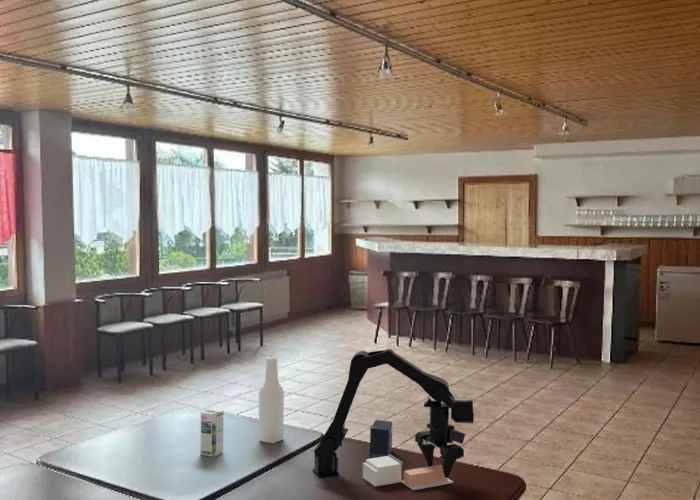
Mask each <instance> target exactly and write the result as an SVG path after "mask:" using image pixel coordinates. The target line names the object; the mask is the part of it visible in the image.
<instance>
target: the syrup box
mask: <svg viewBox="0 0 700 500" xmlns="http://www.w3.org/2000/svg"><path fill="white" fill-rule="evenodd" d="M224 418H225V417H224V410H218V409H213V408H209V409H205V410H203V411H202V412H201V413H200V453H199V455H200V456H206V457H207V456H208V457H212V458H215V457H217V456H219V455H220V454H223V453H224Z"/></svg>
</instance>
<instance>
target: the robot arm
mask: <svg viewBox="0 0 700 500" xmlns="http://www.w3.org/2000/svg"><path fill="white" fill-rule="evenodd" d="M349 364H350V365H349V372H348V379H347V382H346V385H345V388H344V390H343V393H342V396H341V398H340V401H339V404H338V406H337V409H336V412H335V414H334V417H333V420H332V421H331V423H330V425H329V426H328V429H327V430H326V431H325V433H324V434H323V437H322V438H321V440H319V442H318V444H317V445H316V447H315V449H314V450H313V452H314V468H312V472H313V473H314V474H315V475H316V476H317V477H319V478H325V477H330V476H331V477H332V476H338V475H340V474H339V471H338V470H339V457H338V456H337V455H338V453H337V452H336V451H337V450H339V448H340V447H343V444H344V442H345V440H346V439H345V437H346V435H347V433H348V431H349V428H346V421H347V418H348V416H349V413H350V410H351V407H352V405H353V403H354V399H355V397H356V394H357V392H358V389H359V387H360V383H361V382H362V379H363V378H364V377H365V375H366V374H367V371H368V370H369V369H372V368H377V367H379V366H382V365H388V366H390V367H391V368H393V369H395V370H396V371H397V372H399V373H401V374H402V375H404V376H405V377H407V378H409V380H411V381H413V382H414V383H416V384H417V385H418V386H420V387H421V388H422V389H423V391H424V392H425V393H426V394H427V395H428V396H429V397H428V398H427V400H426V401H424V402H423V407H424V408H429V423H426V427H427V428H428V429H429V430H426V431H418V432H417V433H416V434H415V435H414V441H415V442H416V444H417V446H418V448H419V450H420V452H421V453H422V456H423V458H424V460H425V463H426V466H427V467H430V466H433V463H434V454H435V453H434V452H435V449H436V448H438V449H439V454H440V455H439V459H440V465H442V468H443V472H444V476H445V478H448V479H449V477H450V475H451V472H452V469H453V467H454V464H455V462H456V461H457V460H460V459H461V458H464V457H465V449H464V448H463V447H462V446H460V445H463V444H464V441H465V437H466V433H464V432H461V430H457V429H456V428H455V425H453V424H449V420H450V419H451V420H452V421H453V422H454V423H455V424H456V423H458V424H474V417H475V416H474V415H475V414H474V400H472V399H467V400H461V399H456V398H455V396H454V395H453V394H452V392H451V390H450V386H449V385H450V384H449V383H448V382H447V381H446V380H445V379H443V378H441V377H439V376H437V375H434V374H431V373H428V372H426V371H424V370H423V369H421V368H420V367H418V366H416V365H415V364H413V363H412V362H410V361H408V360H407V359H405V358H404V357H403V356H401V355H399V354H398V353H396V352H395V351H394V350H392V349H391V348H386V349H382V350H374V351H368V352H367V351H365V350H360V351H357V352H356V353H355V354H354V356H352V358H351V361H350V363H349ZM449 409H450V410H449ZM449 415H450V418H449ZM454 442H456V443H459V444H460V445H459V444H456V443H454Z"/></svg>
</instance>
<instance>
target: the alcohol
mask: <svg viewBox="0 0 700 500" xmlns="http://www.w3.org/2000/svg"><path fill="white" fill-rule="evenodd" d="M265 367H266V368H265V379H264V383H263V384H262V385H261V387H260V389H259V392H258V409H259V410H258V439H259V442H261V441H263V442H278V441H281V440H282V441H283V439H284V420H285V419H284V416H285V415H284V412H285V411H284V408H285V407H284V404H285V403H284V401H285V396H284V393H285V391H284V388H283V386H282V385H281V384H280V382H279V381H280V380H279V376H278V375H279V374H278V357H276V356H267V357H266V365H265ZM282 441H281V442H282ZM263 442H262V443H263ZM278 443H279V442H278Z"/></svg>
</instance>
